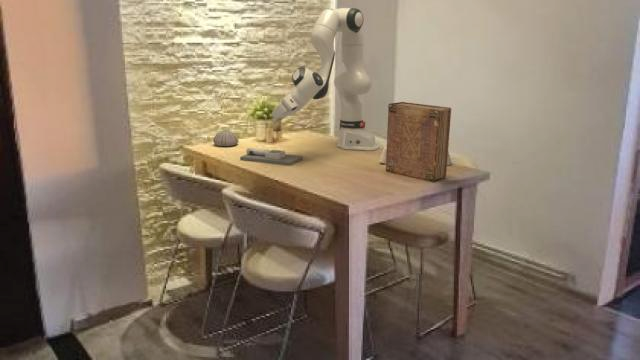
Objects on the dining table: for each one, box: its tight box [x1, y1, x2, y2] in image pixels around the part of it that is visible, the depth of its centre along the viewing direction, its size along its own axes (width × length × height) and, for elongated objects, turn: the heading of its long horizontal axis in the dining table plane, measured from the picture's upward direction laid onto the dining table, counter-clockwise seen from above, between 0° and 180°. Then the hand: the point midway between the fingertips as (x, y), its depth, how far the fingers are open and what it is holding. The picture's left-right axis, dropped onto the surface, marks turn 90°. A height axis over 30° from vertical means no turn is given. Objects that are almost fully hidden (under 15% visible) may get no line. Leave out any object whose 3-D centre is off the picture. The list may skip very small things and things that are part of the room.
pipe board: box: [239, 147, 304, 166], centre depth 261 cm, size 26×14×4 cm, turn 68°
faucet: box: [378, 145, 387, 165], centre depth 261 cm, size 4×18×10 cm, turn 130°
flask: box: [447, 151, 453, 166], centre depth 257 cm, size 7×7×10 cm
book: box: [385, 101, 452, 183], centre depth 234 cm, size 25×9×30 cm, turn 46°
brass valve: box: [272, 116, 282, 132], centre depth 260 cm, size 4×4×8 cm
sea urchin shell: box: [212, 129, 239, 147], centre depth 292 cm, size 13×14×8 cm
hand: (276, 120), depth 260 cm, fingers closed on brass valve, 4 cm apart
